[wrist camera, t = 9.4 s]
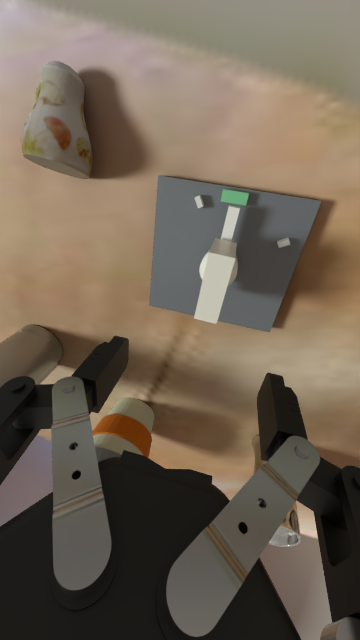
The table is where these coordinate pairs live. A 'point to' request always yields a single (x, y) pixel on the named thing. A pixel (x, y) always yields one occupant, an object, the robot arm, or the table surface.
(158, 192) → the dial board
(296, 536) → the beer glass
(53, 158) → the mug
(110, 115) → the table surface
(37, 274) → the table surface
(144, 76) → the table surface
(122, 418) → the reusable coffee cup
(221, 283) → the peg knob
